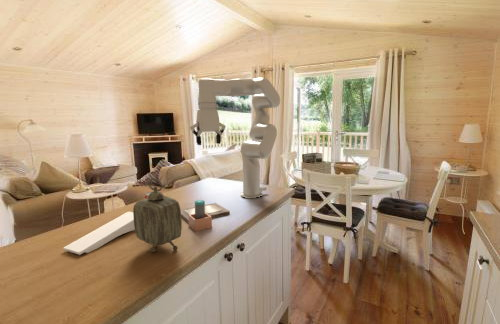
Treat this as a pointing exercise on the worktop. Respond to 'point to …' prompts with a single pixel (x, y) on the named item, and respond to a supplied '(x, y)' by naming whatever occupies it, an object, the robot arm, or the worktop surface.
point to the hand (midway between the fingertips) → (209, 144)
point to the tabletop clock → (157, 219)
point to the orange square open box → (200, 222)
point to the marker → (199, 209)
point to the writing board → (210, 209)
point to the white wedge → (102, 234)
